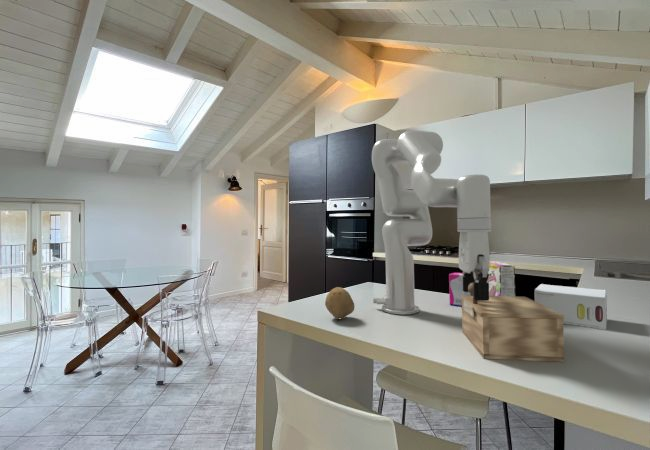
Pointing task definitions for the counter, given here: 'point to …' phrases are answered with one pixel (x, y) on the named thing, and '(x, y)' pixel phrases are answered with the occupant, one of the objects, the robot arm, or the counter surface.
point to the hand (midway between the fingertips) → (475, 295)
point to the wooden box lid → (507, 307)
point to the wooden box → (515, 337)
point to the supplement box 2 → (575, 304)
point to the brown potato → (339, 303)
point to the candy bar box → (501, 279)
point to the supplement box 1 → (456, 289)
